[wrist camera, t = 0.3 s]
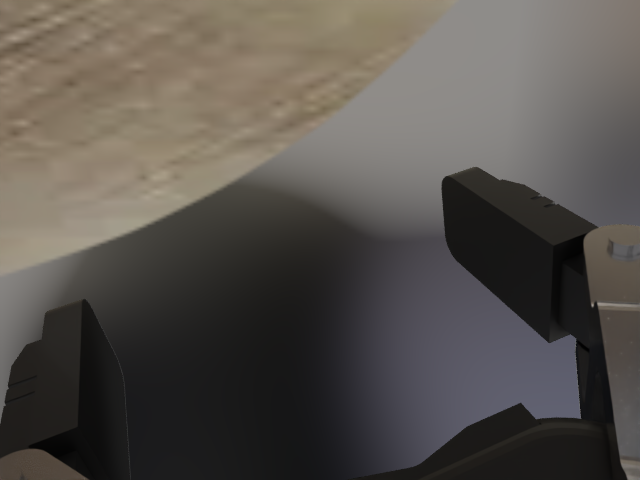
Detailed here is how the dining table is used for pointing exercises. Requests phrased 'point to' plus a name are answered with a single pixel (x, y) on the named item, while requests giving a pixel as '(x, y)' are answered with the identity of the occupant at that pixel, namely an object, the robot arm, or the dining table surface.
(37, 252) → the dining table surface
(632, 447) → the robot arm
